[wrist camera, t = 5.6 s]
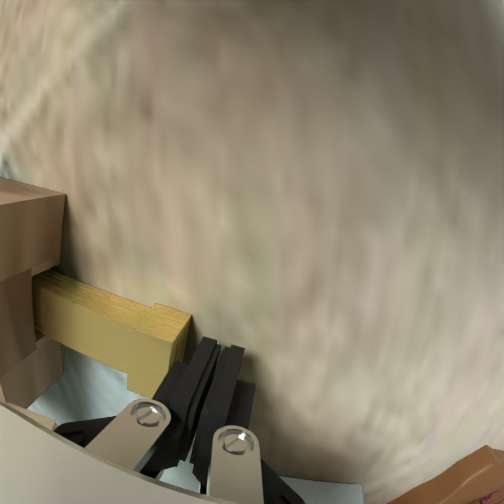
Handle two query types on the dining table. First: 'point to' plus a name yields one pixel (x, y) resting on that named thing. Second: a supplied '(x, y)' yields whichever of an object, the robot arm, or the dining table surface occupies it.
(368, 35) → the dining table surface
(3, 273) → the socket block
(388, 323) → the dining table surface
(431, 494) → the plant
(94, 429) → the robot arm
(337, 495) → the grey square holed block
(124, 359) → the bar
